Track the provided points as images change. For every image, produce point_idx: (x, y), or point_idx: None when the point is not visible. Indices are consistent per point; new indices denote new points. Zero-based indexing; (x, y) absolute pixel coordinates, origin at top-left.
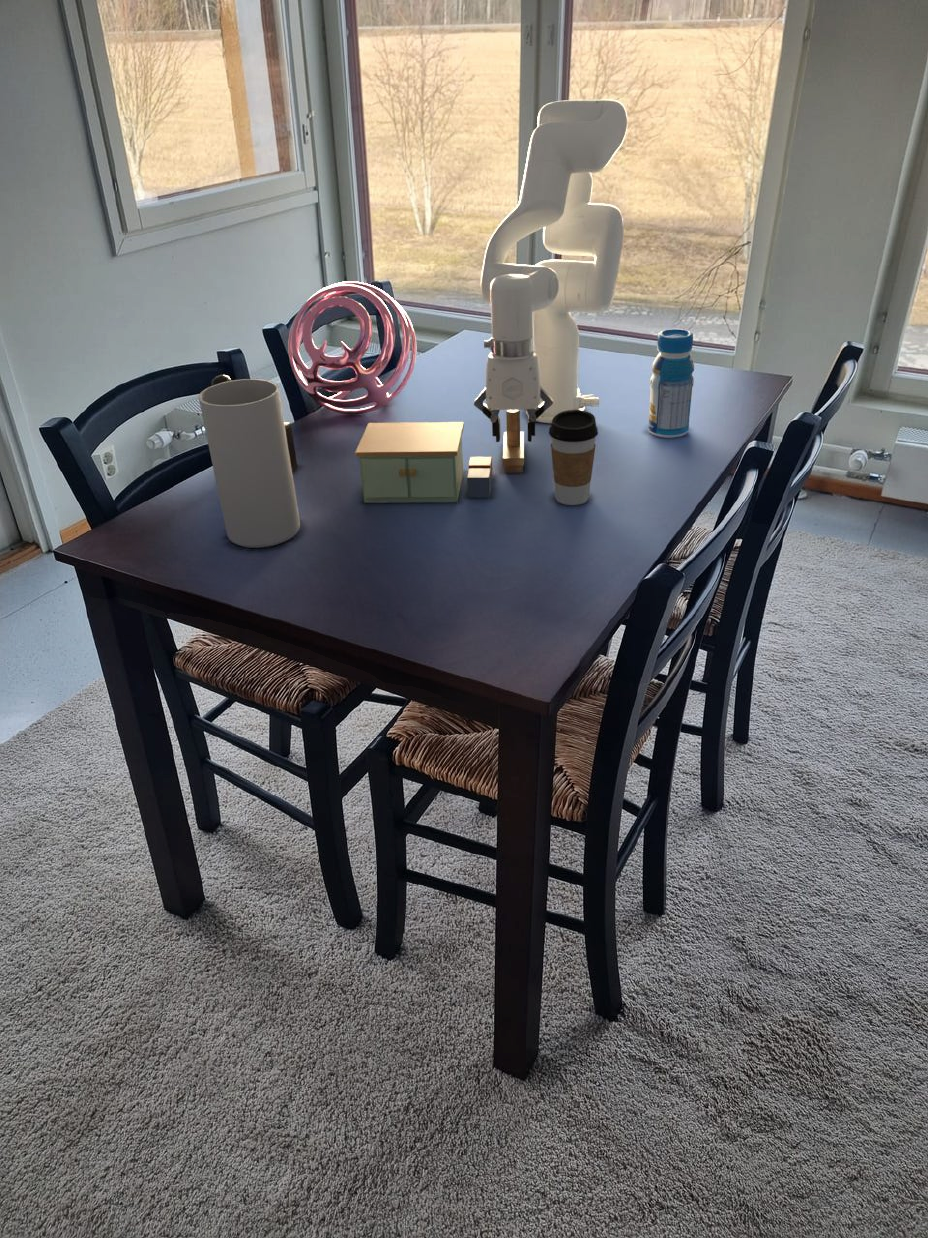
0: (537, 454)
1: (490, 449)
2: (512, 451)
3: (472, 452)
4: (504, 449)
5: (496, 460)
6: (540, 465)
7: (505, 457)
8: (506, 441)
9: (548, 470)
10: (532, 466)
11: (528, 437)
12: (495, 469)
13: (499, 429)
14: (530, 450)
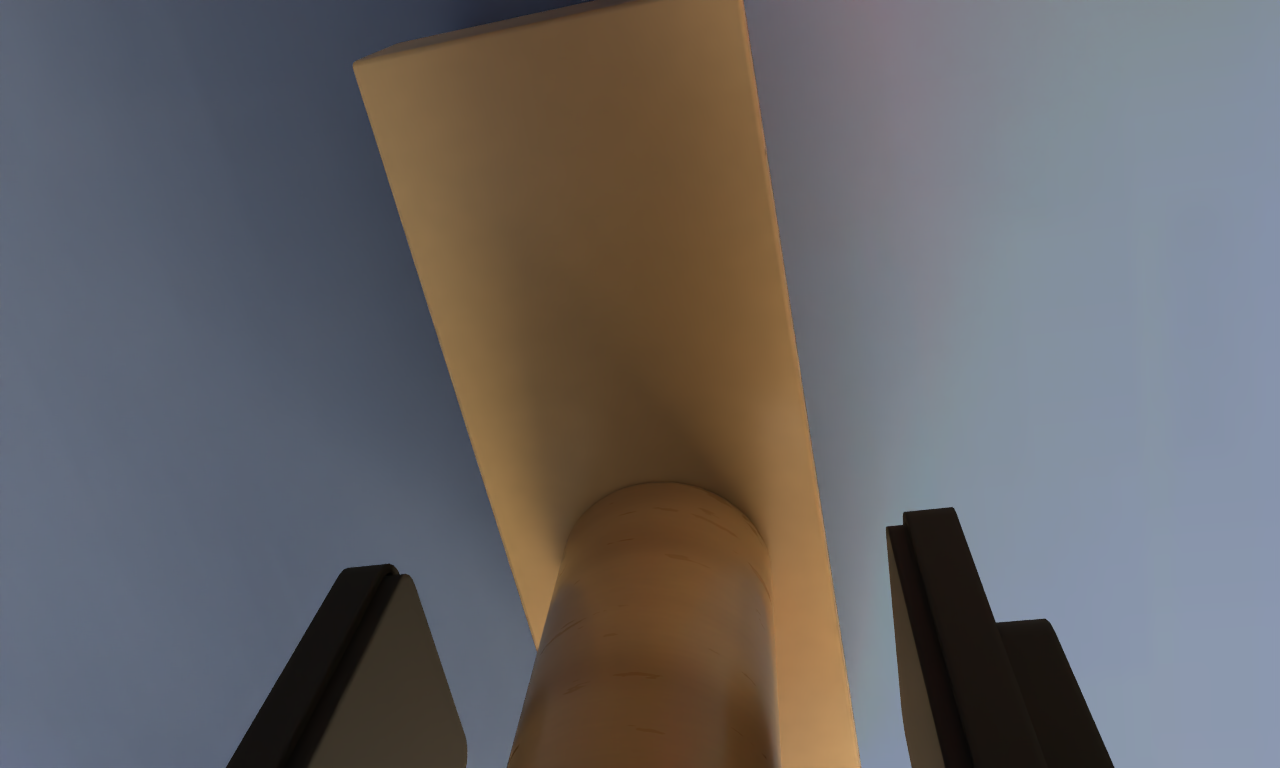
0: (432, 589)
1: None
2: (624, 317)
3: (1252, 582)
4: (777, 382)
5: (902, 386)
6: (294, 302)
7: (692, 29)
8: (797, 657)
9: (138, 161)
10: (383, 259)
11: (370, 607)
12: (877, 87)
13: (923, 698)
14: None
